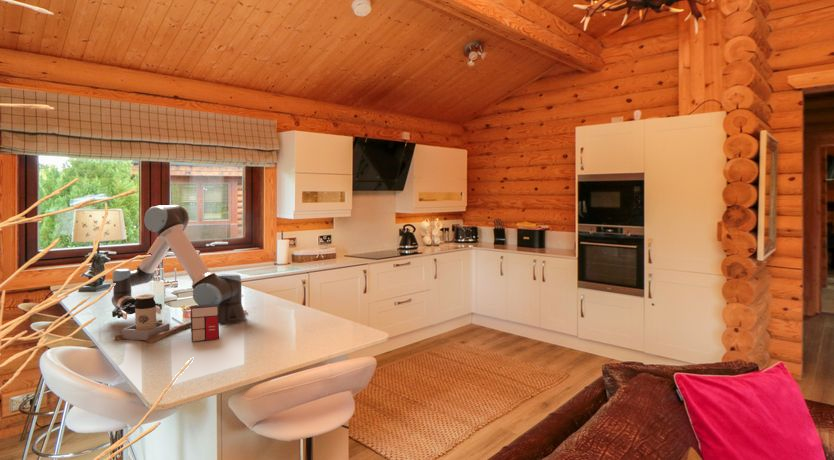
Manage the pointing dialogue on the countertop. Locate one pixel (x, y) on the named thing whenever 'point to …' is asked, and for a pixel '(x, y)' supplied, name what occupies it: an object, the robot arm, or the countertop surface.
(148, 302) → the travel mug
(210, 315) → the cream and red box
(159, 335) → the switch track
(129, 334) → the square tray
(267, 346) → the countertop surface
